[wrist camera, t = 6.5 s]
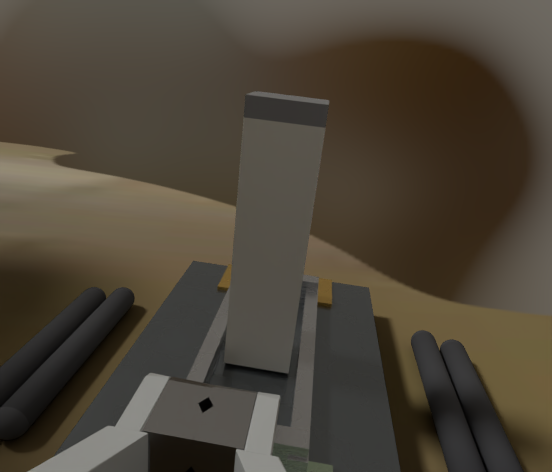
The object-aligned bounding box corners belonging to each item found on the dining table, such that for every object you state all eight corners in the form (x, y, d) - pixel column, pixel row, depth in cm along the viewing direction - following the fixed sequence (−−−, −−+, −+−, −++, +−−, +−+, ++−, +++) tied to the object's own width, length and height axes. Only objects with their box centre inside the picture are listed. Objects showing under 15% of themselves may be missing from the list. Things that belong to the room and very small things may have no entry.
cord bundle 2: (544, 549, 16) (557, 523, 15) (459, 533, 16) (470, 507, 15) (456, 351, 27) (462, 332, 26) (407, 343, 27) (412, 324, 26)
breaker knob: (288, 373, 20) (328, 104, 15) (223, 362, 20) (245, 94, 16) (292, 342, 22) (329, 100, 18) (234, 333, 22) (256, 91, 18)
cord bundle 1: (10, 461, 17) (6, 433, 16) (-63, 447, 17) (-70, 419, 16) (138, 304, 28) (137, 285, 27) (92, 297, 28) (92, 278, 27)
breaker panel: (404, 627, 13) (433, 550, 12) (25, 549, 14) (12, 469, 13) (363, 313, 30) (373, 267, 28) (192, 286, 31) (194, 240, 29)
